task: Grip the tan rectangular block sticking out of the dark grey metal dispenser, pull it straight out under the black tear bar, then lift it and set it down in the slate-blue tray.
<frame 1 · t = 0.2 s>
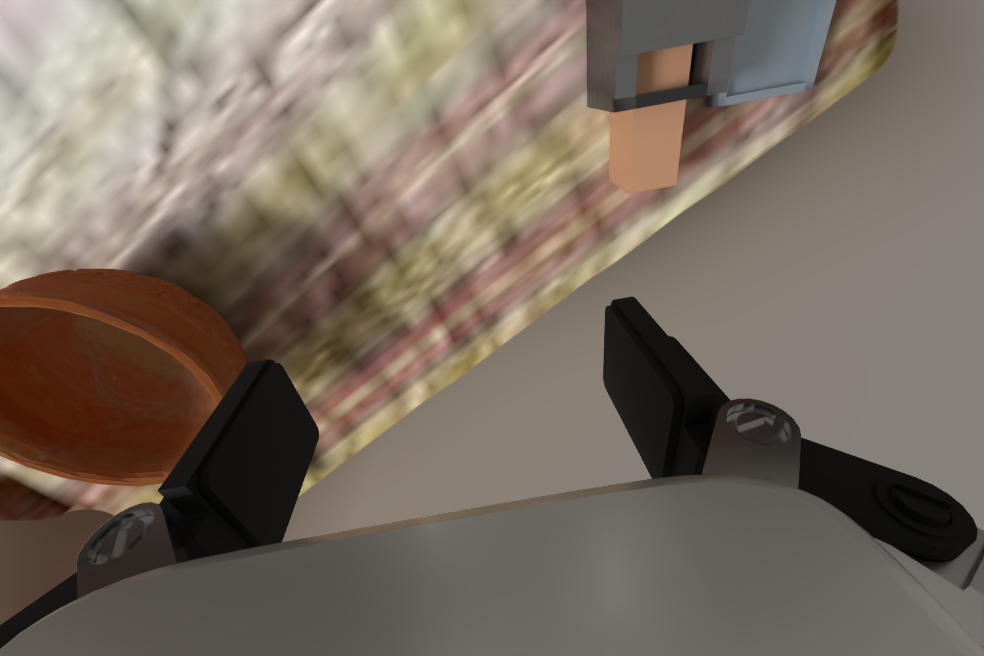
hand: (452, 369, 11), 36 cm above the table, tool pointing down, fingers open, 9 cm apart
tan rectangular block: (632, 114, 41), on the table
bowl: (176, 324, 49), on the table
tray: (770, 1, 37), on the table
dispenser: (637, 26, 37), on the table
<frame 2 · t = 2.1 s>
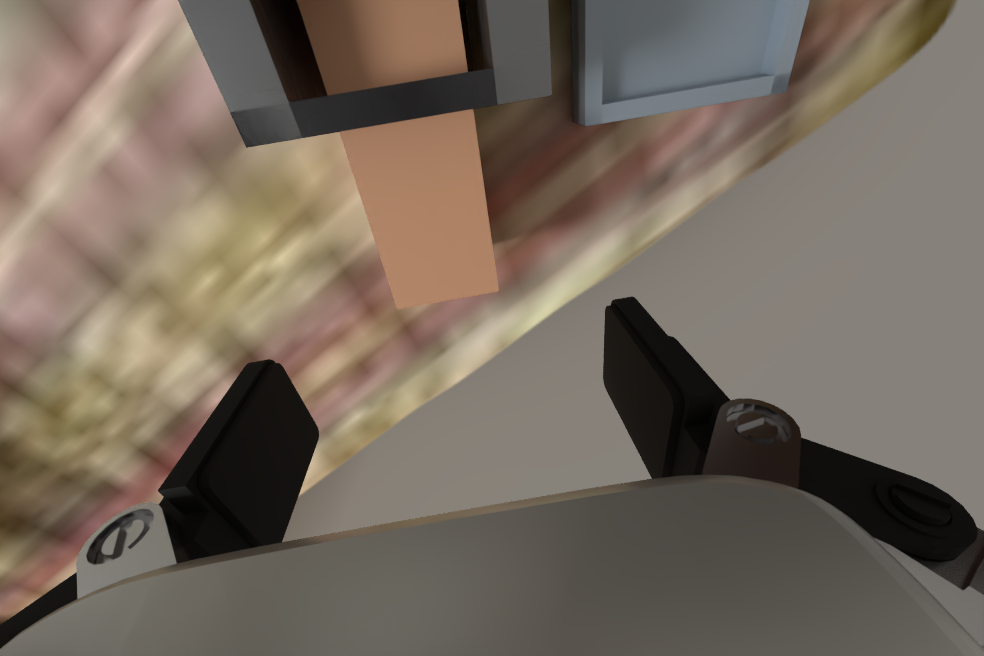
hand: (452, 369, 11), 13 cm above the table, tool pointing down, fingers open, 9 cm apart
tan rectangular block: (420, 135, 20), on the table
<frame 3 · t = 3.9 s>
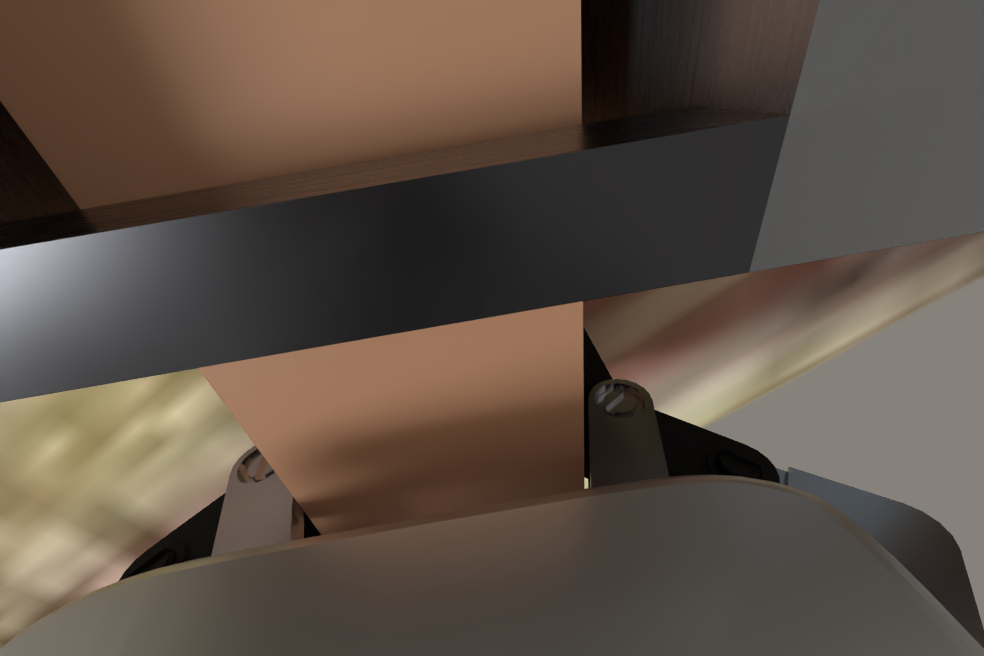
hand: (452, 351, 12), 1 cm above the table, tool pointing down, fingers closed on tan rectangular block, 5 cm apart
tan rectangular block: (421, 217, 10), on the table, touching gripper
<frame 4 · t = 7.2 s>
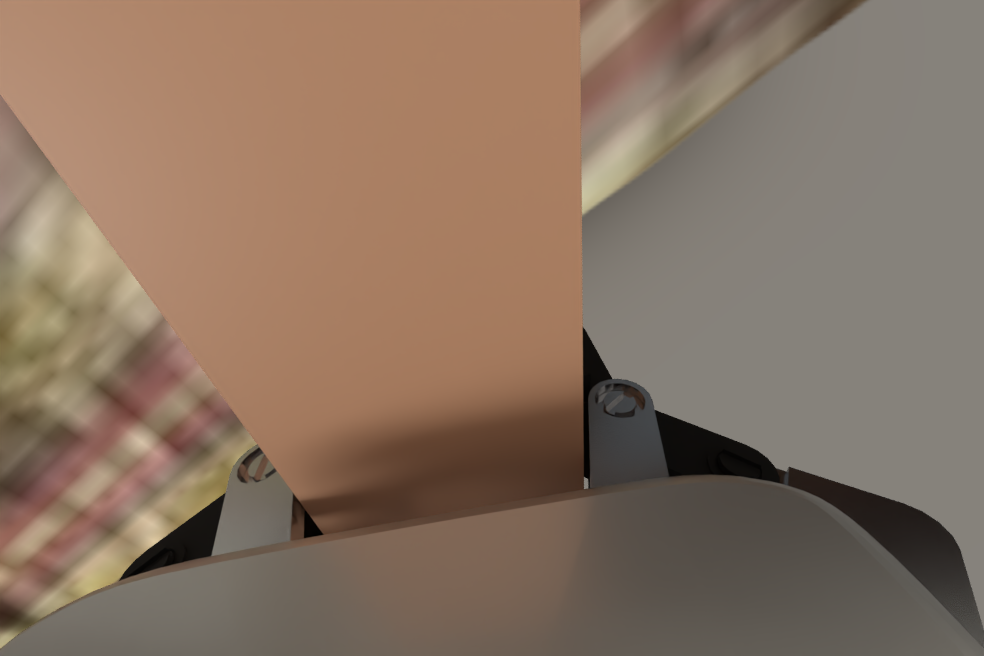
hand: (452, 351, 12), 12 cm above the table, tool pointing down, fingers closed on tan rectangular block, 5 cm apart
tan rectangular block: (422, 218, 10), point 12 cm above the table, touching gripper
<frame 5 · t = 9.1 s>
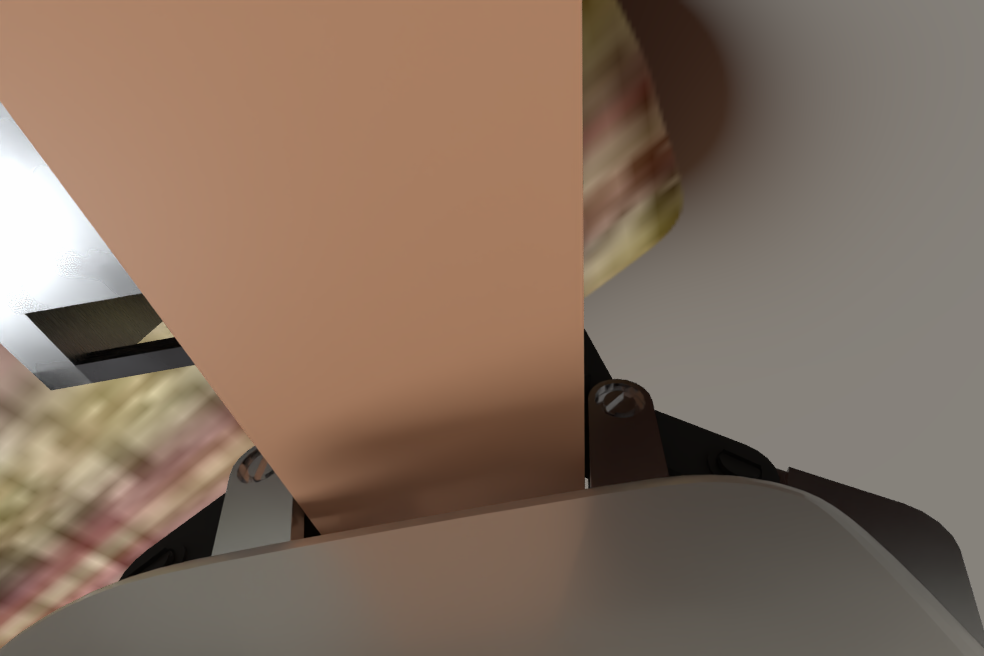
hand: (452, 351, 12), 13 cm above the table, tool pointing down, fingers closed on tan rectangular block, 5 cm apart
tan rectangular block: (422, 220, 10), point 12 cm above the table, touching gripper
dispenser: (183, 188, 20), on the table
when the fingers open (3 cm above the table, at t = 10.8 s): tan rectangular block drops 1 cm, resting on tray.
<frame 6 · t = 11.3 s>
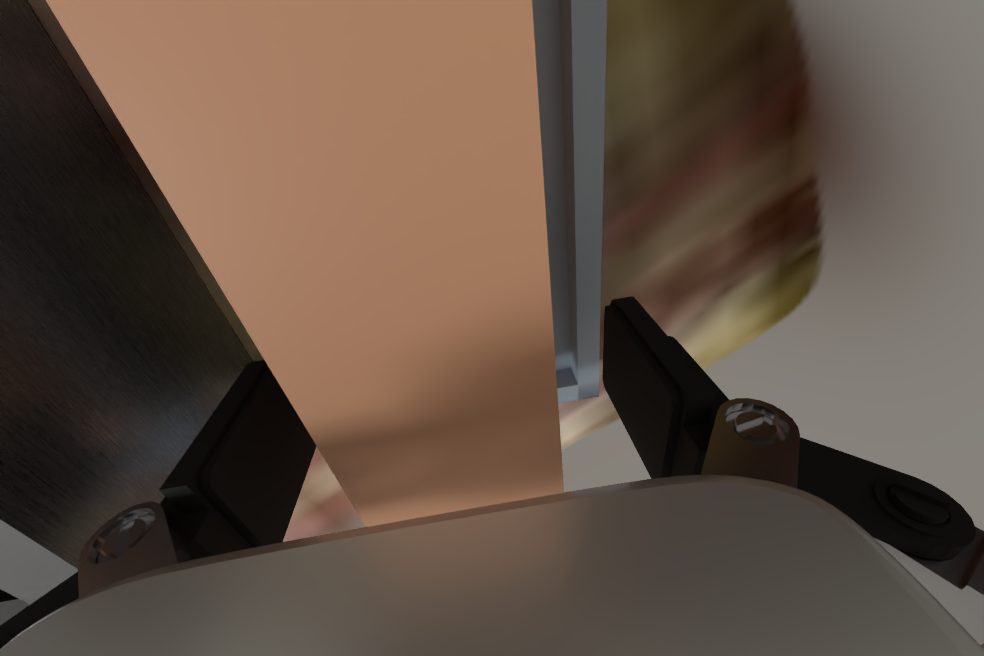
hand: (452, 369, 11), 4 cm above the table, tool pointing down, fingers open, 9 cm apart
tan rectangular block: (421, 210, 11), point 1 cm above the table, touching tray
tray: (426, 197, 12), on the table
dispenser: (18, 266, 12), on the table
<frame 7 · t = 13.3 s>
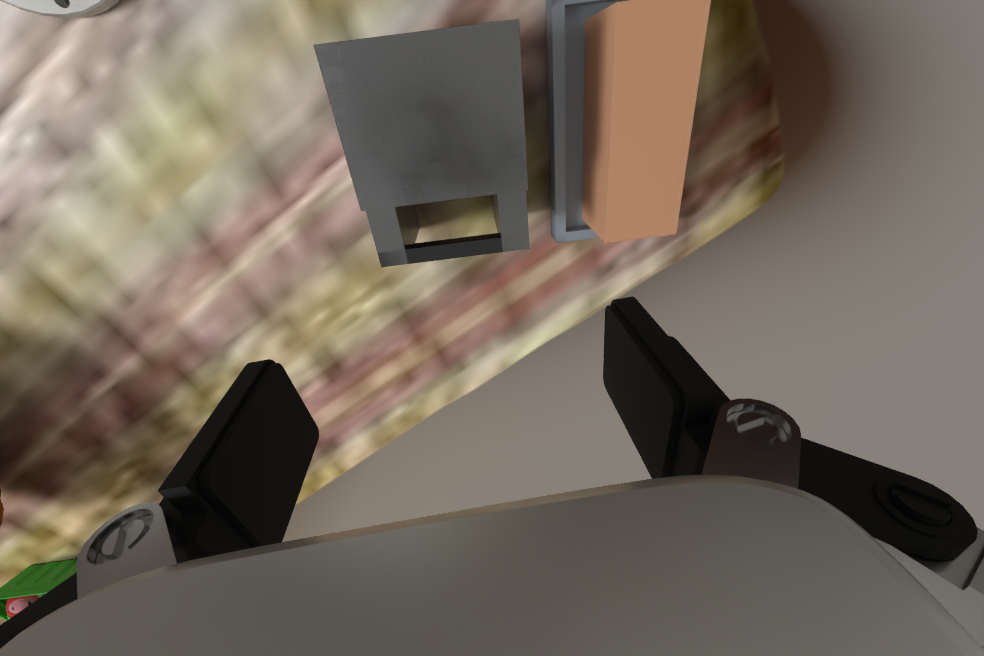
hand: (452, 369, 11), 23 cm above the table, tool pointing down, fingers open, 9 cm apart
tan rectangular block: (616, 127, 28), point 1 cm above the table, touching tray
tray: (614, 124, 29), on the table
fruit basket: (77, 570, 55), on the table
dispenser: (444, 146, 29), on the table
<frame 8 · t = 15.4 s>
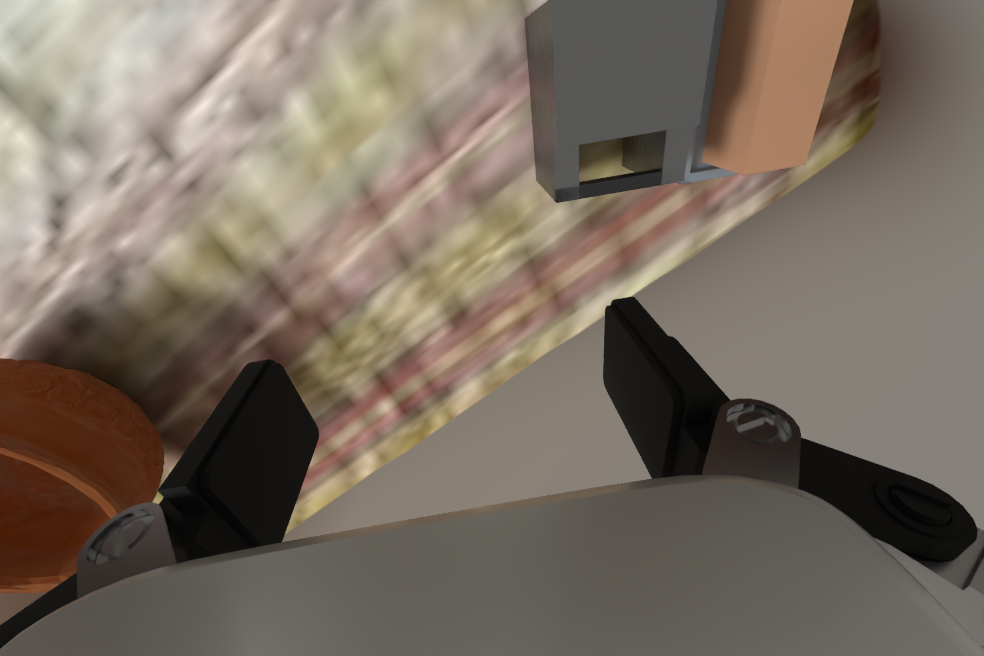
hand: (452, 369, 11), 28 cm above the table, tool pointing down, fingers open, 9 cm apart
tan rectangular block: (743, 74, 32), point 1 cm above the table, touching tray
bowl: (90, 399, 45), on the table
tray: (738, 72, 33), on the table
dispenser: (588, 98, 33), on the table
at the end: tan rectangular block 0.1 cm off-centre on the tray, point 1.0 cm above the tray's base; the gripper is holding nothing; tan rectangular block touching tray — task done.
